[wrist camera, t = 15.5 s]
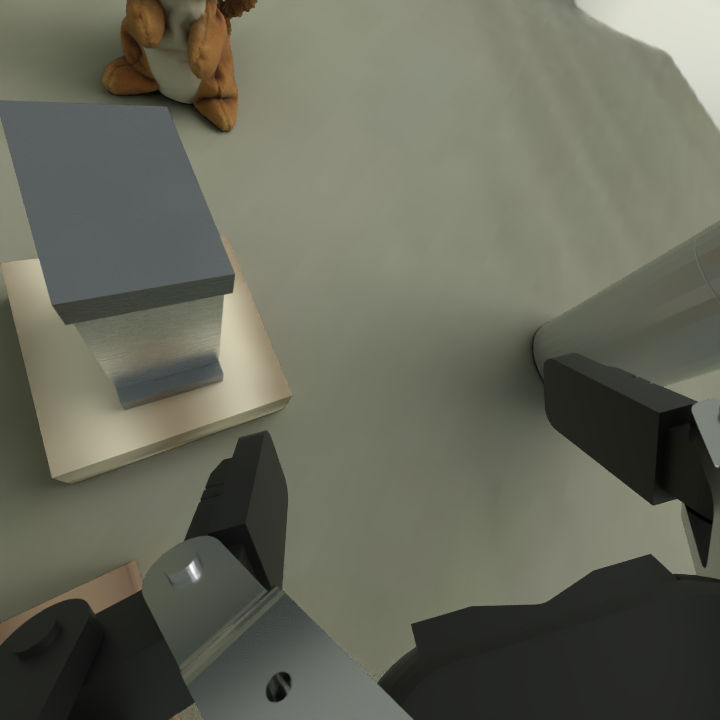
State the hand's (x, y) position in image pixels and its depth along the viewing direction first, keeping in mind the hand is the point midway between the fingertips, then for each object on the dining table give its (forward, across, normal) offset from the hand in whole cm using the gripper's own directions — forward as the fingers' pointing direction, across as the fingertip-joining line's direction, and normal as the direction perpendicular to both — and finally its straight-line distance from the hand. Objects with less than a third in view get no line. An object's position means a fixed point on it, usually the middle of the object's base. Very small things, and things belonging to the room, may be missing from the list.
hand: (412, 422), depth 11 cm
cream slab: (+15, +12, 0) cm, 20 cm away
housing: (+13, +11, -2) cm, 17 cm away
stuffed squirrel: (+33, +8, -21) cm, 40 cm away
